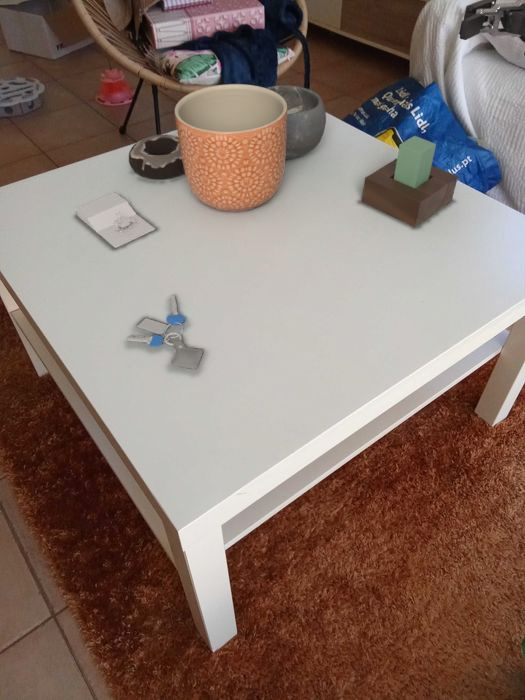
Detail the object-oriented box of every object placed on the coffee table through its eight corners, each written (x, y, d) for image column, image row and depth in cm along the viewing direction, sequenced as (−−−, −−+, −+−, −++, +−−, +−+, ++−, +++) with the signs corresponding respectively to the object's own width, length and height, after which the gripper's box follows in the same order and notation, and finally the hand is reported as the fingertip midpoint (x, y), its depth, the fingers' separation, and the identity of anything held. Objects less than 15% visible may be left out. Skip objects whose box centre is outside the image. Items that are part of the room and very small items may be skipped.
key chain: (210, 365, 69) (209, 361, 69) (145, 387, 67) (144, 383, 66) (175, 297, 78) (174, 292, 77) (116, 314, 76) (115, 310, 75)
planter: (166, 209, 94) (152, 119, 82) (217, 162, 104) (210, 76, 93) (258, 234, 88) (255, 142, 77) (302, 182, 98) (305, 94, 87)
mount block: (399, 177, 99) (403, 153, 96) (452, 200, 94) (458, 175, 90) (361, 202, 94) (364, 177, 91) (415, 227, 89) (420, 202, 85)
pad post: (403, 192, 96) (414, 135, 88) (423, 200, 94) (436, 143, 87) (389, 201, 94) (399, 144, 87) (409, 210, 92) (421, 153, 85)
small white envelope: (116, 198, 96) (113, 185, 94) (155, 229, 90) (153, 215, 88) (77, 215, 93) (73, 202, 91) (115, 248, 86) (111, 234, 85)
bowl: (238, 138, 110) (236, 85, 103) (313, 130, 112) (315, 78, 104) (251, 176, 100) (249, 121, 93) (332, 168, 102) (336, 113, 94)
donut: (145, 148, 108) (142, 128, 105) (203, 154, 106) (201, 134, 103) (120, 179, 100) (115, 158, 97) (182, 187, 98) (179, 165, 95)
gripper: (515, -35, 76) (450, -9, 68) (624, -16, 69) (565, 16, 61) (499, 26, 81) (437, 57, 73) (598, 50, 74) (541, 87, 66)
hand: (495, 38), depth 67 cm, fingers open, 8 cm apart
